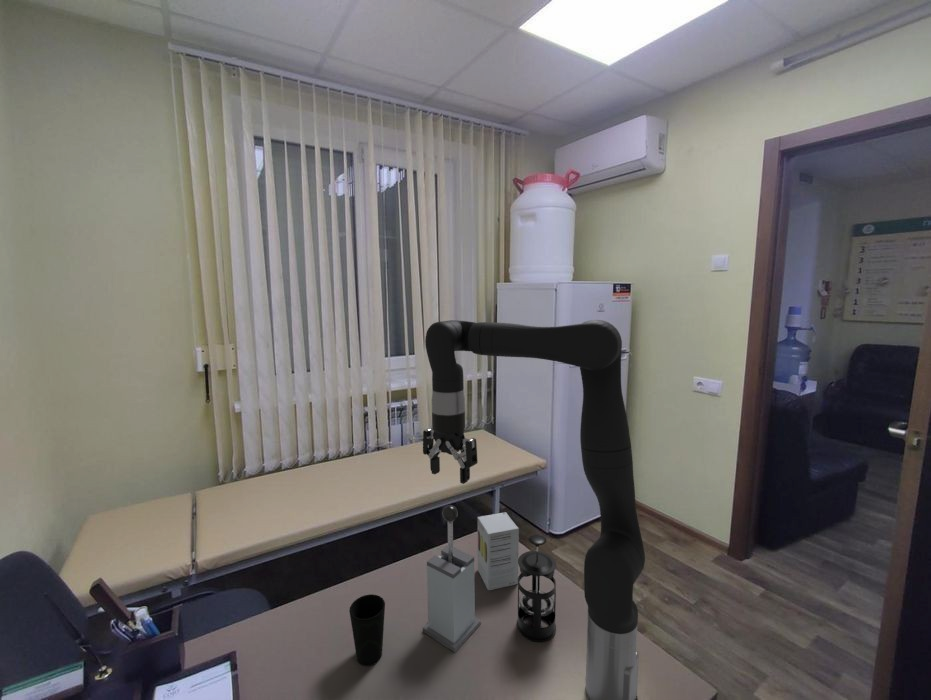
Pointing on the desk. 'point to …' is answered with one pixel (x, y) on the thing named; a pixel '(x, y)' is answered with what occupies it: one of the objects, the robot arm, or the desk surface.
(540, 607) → the french press
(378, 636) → the cup
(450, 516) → the plunger
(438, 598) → the slotted square pillar
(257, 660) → the desk surface
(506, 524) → the supplement box
